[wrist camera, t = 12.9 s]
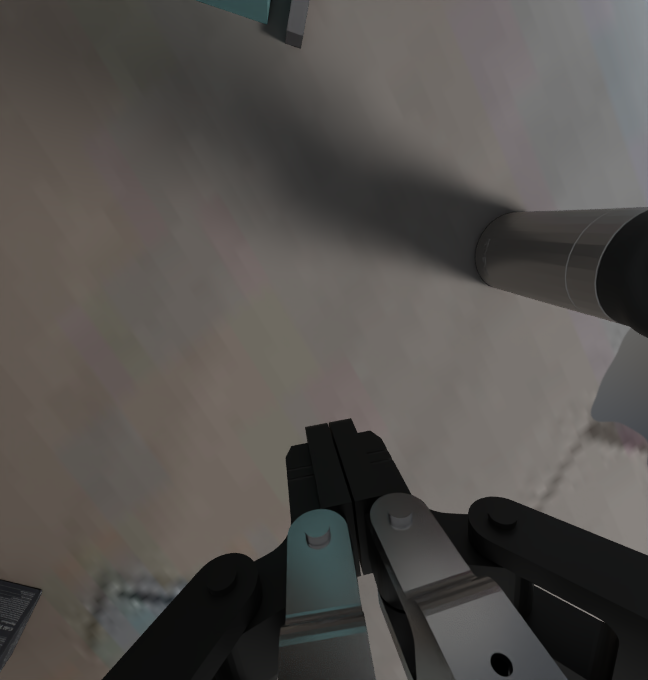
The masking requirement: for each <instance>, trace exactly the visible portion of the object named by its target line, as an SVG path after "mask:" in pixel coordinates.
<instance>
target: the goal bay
mask: <svg viewBox="0 0 648 680" xmlns="http://www.w3.org/2000/svg"><path fill="white" fill-rule="evenodd" d="M308 6H309V0H292V1H291V7H290V13H289V19H288V25H287V32H286V41H285V43H286V44H289V45H292V46H295V47H298V48H301V44H302V39H303V34H304V28H305V23H306V17H307V11H308Z"/></svg>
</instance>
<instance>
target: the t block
mask: <svg viewBox="0 0 648 680" xmlns="http://www.w3.org/2000/svg"><path fill="white" fill-rule="evenodd" d="M196 1H199V2H202V3H205V4H208V5H211V6H214V7H217V8H220V9H223V10H226V11H229V12H232V13H235V14H238V15H241V16H244V17H247V18H249V19H252V20H255V21H258V22H261V23H264V24H267V23H268V16H269V9H270V2H271V0H196Z"/></svg>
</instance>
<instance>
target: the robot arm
mask: <svg viewBox="0 0 648 680" xmlns="http://www.w3.org/2000/svg"><path fill="white" fill-rule="evenodd" d="M475 259H476V267H477V270H478V273H479V275H480V276H481V278H482V279H483V280H484V281H485V282H486V283H487V284H488V285H490V286H492V287H494V288H497V289H501V290H504V291H507V292H511V293H514V294H517V295H521V296H524V297H528V298H531V299H535V300H538V301H542V302H545V303H549V304H552V305H556V306H559V307H563V308H566V309H570V310H573V311H577V312H580V313H584V314H587V315H591V316H595V317H598V318H602V319H605V320H609V321H612V322H616V323H619V324H623V325H626V326H630V327H631V328H632V329H634V330H635V331H636V332H638V333H639V334H641V335H643V336H645V337H647V338H648V207H636V208H616V209H590V210H564V211H534V212H514V213H508V214H505V215H502V216H500V217H499V218H497V219H495V220H494V221H493V222H492V223H491V224H490V225H489V226H488V227H487V228H486V229H485V231H484V232H483V233H482V235H481V237H480V239H479V241H478V245H477V248H476V256H475ZM305 430H306V436H307V442H308V443H305V444H300V445H294V446H291V448H290V450H289V452H288V454H287V456H286V467H287V479H288V490H289V502H290V514H291V527H290V529H289V532H288V535H287V537H286V539H285V540H284V541H283V543H282V544H281V545H280V546H279V547H277V548H276V549H275V550H274V551H272V552H271V553H269V554H267V555H265V556H264V557H262V558H260V559H258V560H256V561H253V560H252V559H251V558H250V557H248V556H246V555H244V554H240V553H229V554H225V555H222V556H219V557H217V558H215V559H213V560H211V561H210V562H208V563H207V564H206V565H205V566H204V567H203V568H202V569H201V570H200V571H199V572H198V573H197V574H196V575H195V576H194V577H193V578H192V580H191V581H190V582H189V583H188V584H187V585H186V586H185V587H184V588H183V590H182V591H181V592H180V593H179V594H178V595H177V596H176V597H175V598H174V600H173V601H172V602H171V603H170V604H169V605H168V606H167V607H166V609H165V610H164V611H163V612H162V613H161V614H160V615H159V616H158V617H157V619H156V620H155V621H154V622H153V623H152V624H151V625H150V626H149V628H148V629H147V630H146V631H145V632H144V633H143V634H142V635H141V636H140V638H139V639H138V640H137V641H136V642H135V643H134V644H133V645H132V646H131V648H130V649H129V650H128V651H127V652H126V653H125V654H124V655H123V657H122V658H121V659H120V660H119V661H118V662H117V663H116V664H115V665H114V667H113V668H112V669H111V670H110V671H109V672H108V673H107V674H106V676H105V677H104V678H103V679H102V680H277V678H278V680H376V678H375V672H374V667H373V661H372V656H371V650H370V644H369V639H368V633H367V627H366V622H365V617H364V613H363V611H362V606H361V600H360V594H359V588H358V580H357V577H358V576H361V573H360V565H361V568H362V572H363V575H366V574H370V573H373V574H374V577H375V581H376V584H377V588H378V597H379V604H380V608H381V610H382V613H383V615H384V618H385V621H386V623H387V626H388V629H389V631H390V634H391V637H392V639H393V642H394V644H395V647H396V650H397V652H398V655H399V658H400V660H401V663H402V666H403V668H404V671H405V673H406V676H407V679H408V680H648V555H645V554H643V553H640V552H638V551H635V550H633V549H630V548H628V547H625V546H623V545H621V544H618V543H616V542H613V541H611V540H608V539H606V538H603V537H601V536H598V535H596V534H593V533H591V532H589V531H586V530H584V529H581V528H579V527H576V526H574V525H571V524H569V523H566V522H564V521H561V520H559V519H556V518H554V517H552V516H549V515H547V514H544V513H542V512H539V511H537V510H534V509H532V508H529V507H527V506H524V505H522V504H520V503H517V502H515V501H512V500H509V499H506V498H502V497H485V498H481V499H479V500H477V501H475V502H474V503H473V504H472V505H471V506H470V508H469V512H468V514H451V513H441V512H436V511H433V510H430V509H429V508H428V507H427V506H426V504H425V503H424V502H423V501H422V500H420V499H419V498H417V497H415V496H413V495H411V493H410V491H409V489H408V487H407V485H406V484H405V482H404V480H403V478H402V476H401V474H400V472H399V470H398V469H397V467H396V465H395V463H394V461H393V460H392V457H391V456H390V454H389V452H388V451H387V448H386V446H385V444H384V443H383V441H382V439H381V438H380V437H378V436H377V435H376V434H374V433H373V432H371V431H366V432H360V433H357V431H356V428H355V426H354V424H353V421H352V419H351V418H350V419H345V420H339V421H334V422H329V427H328V424H327V423H324V424H319V425H314V426H308V427H305ZM359 561H360V564H359ZM534 584H536V585H537V586H539V587H541V588H543V589H545V590H547V591H549V592H551V593H553V594H554V595H556V596H558V597H560V598H562V599H564V600H566V601H568V602H570V603H571V604H573V605H575V606H577V607H579V608H581V609H583V610H585V611H586V612H588V613H590V614H592V615H594V616H596V617H598V618H599V619H601V620H602V621H604V622H602V621H600V620H598V619H596V618H594V617H592V616H590V615H588V614H587V613H585V612H583V611H581V610H579V609H577V608H575V607H573V606H572V605H570V604H568V603H566V602H564V601H562V600H560V599H558V598H557V597H555V596H553V595H551V594H549V593H547V592H545V591H543V590H542V589H540V588H538V587H536V586H534Z"/></svg>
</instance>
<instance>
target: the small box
mask: <svg viewBox="0 0 648 680" xmlns="http://www.w3.org/2000/svg"><path fill="white" fill-rule="evenodd" d="M41 594H42V590H38V589H34V588H31V587H27V586H22V585H18V584H14V583H10V582H6V581H2V580H0V672H1V670H2V668H3V667H4V665H5V664H6V662H7V661H8V659H9V658H10V656H11V655H12V653H13V650H14V648H15V646H16V644H17V642H18V640H19V638H20V636H21V634H22V632H23V630H24V628H25V626H26V624H27V622H28V620H29V618H30V616H31V614H32V612H33V610H34V608H35V606H36V604H37V602H38V600H39V598H40V596H41Z"/></svg>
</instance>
